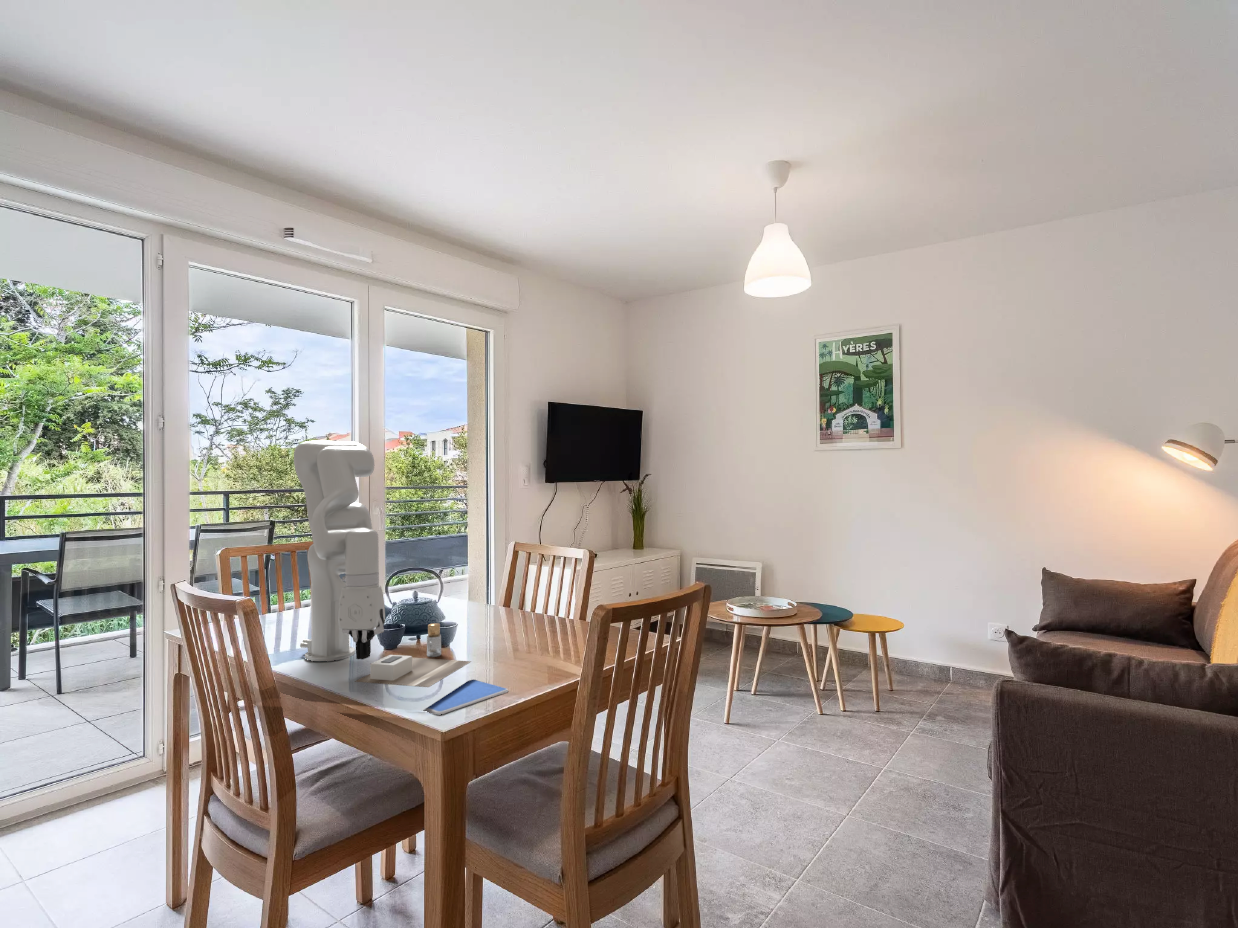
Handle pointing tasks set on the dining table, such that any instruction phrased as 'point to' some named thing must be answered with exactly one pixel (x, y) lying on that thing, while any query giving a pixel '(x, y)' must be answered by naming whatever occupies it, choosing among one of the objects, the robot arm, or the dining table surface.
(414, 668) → the beige flat panel
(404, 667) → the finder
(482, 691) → the tablet computer
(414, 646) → the dining table surface
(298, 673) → the dining table surface
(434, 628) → the glass spice jar
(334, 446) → the robot arm
